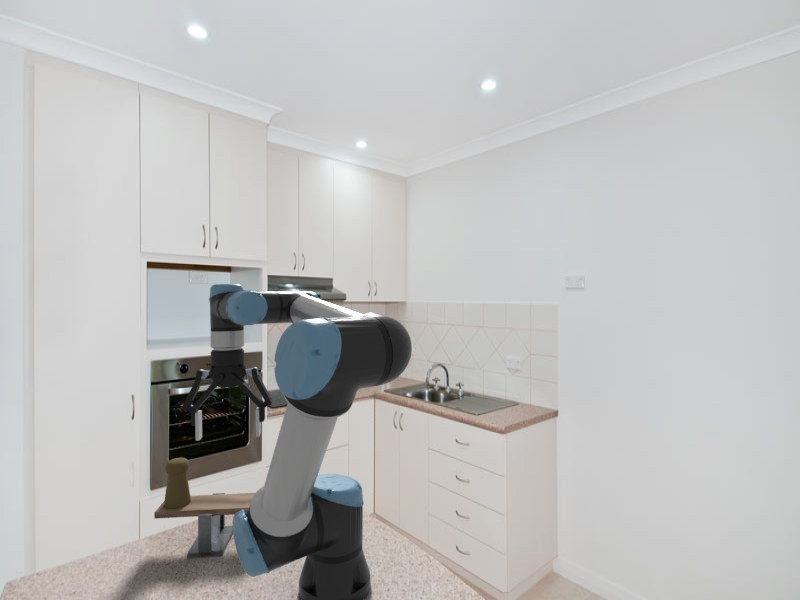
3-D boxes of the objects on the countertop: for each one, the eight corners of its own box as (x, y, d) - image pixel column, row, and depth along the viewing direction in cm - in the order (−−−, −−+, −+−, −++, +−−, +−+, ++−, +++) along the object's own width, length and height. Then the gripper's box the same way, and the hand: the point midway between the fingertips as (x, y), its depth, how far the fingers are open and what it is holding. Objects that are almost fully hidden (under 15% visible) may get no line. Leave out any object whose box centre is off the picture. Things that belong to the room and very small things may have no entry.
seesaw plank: (257, 517, 108) (257, 508, 108) (153, 522, 105) (153, 513, 105) (264, 499, 117) (264, 491, 117) (168, 504, 114) (168, 495, 114)
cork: (180, 510, 106) (180, 465, 106) (158, 508, 107) (157, 463, 107) (196, 498, 112) (196, 455, 112) (174, 496, 113) (174, 454, 113)
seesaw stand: (222, 556, 106) (222, 514, 106) (187, 558, 105) (187, 516, 105) (234, 530, 117) (234, 492, 117) (203, 531, 116) (202, 494, 116)
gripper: (282, 345, 112) (284, 429, 112) (177, 348, 108) (178, 436, 108) (279, 348, 105) (280, 438, 105) (166, 351, 101) (167, 445, 101)
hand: (228, 437), depth 106 cm, fingers open, 13 cm apart
